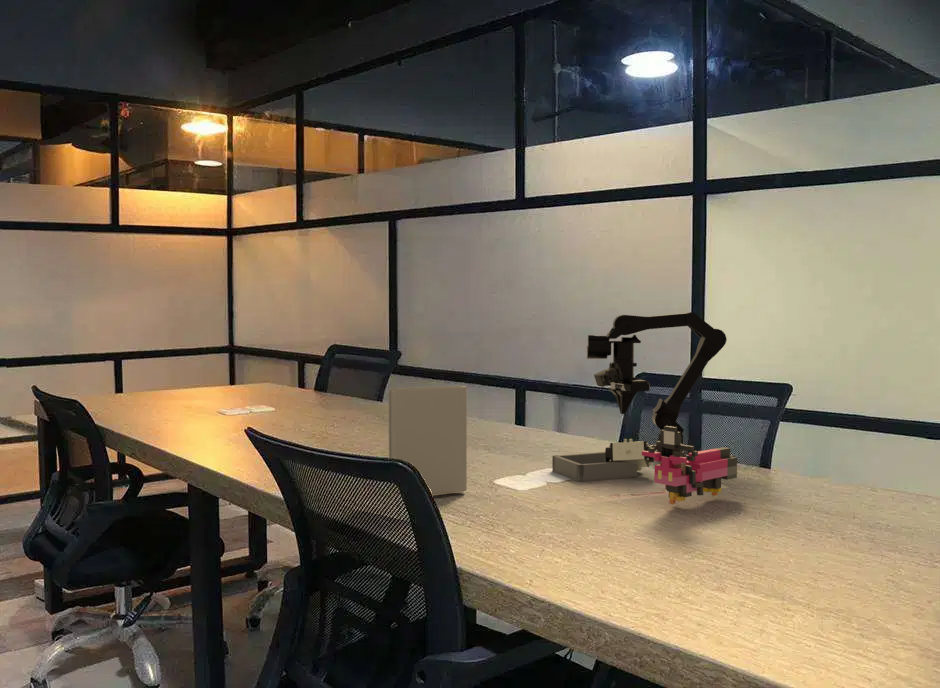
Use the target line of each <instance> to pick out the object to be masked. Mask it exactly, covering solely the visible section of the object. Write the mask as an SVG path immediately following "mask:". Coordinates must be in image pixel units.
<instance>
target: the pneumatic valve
mask: <svg viewBox="0 0 940 688" xmlns="http://www.w3.org/2000/svg"><path fill="white" fill-rule="evenodd" d="M653 445H654V444H649V443H648V441H647V440H643V441H641V440H640V441H634V440H633V438H629V439H627V438H624V439H623V442H620V441H619V442H610V443H609V446H607V447H605V449H604V452H605V458H606V462H630V463H634V464H637V472H638V471H641V470H642V468H650V466H651V463H652V464H653V463H656V461H655V458H654V457H648V456H642V451H649V448H653Z"/></svg>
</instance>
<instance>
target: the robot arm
mask: <svg viewBox="0 0 940 688" xmlns="http://www.w3.org/2000/svg"><path fill="white" fill-rule="evenodd" d="M678 327H679V328H680V327H688V328H689V329H690V330H691V331H692V332H693V333H694V334H695V335H696V336H698V337H699V338H700V339H699V341H698V344H697V348H696V351H695V354H694V356H693V358H692V359H691V360H690V362H689V364H688V366H687V367H686V369H685V370H684V372H683V373H682V374H681V377H680V378H679V380H678V382H676V385H675V386H674V388H673V390H672V391H671V393H670V395H669V396H668V397H666V398H665V400H663V399H662V398H659V399H658V400H657V404H656V406H655V407H654V408H652V411H653V413H652V417H651V419H652V422H653V423H654V425H655V426H656V427H657V428H659V430H664V426H671V427H677V432H681V444H682V445H684V431H685V430H684V428H683V427H682V426H681V424H679V423H678V422H677V420H678V418H679V415H680V411H681V408H682V405H683V403H684V401H685V400H686V398H687V397H688V395H689V393H690V392H691V390H692V389H693V387H694V386H695V384H696V382H697V381H698V378H699V377H700V376H701V374H702V372H703V371H704V370H705V368H706V366H707V365H708V363H709V362H710V361H711V360H712V359H713V358H714V357H715V356H716V355H717V354H719V352H720V351H721V349H723V348H724V347H725V345H726V343H727V335H726V333H725V332H724V330H722V329H719V328H714V327H713V326H711V325H710V324H709V323H707V322H706V321H705V320H704V319H702V318H701V317H699V316H698V314H697V313H695V312H692V311H688V312H683V313H673V314H663V315H662V314H659V315H651V316H644V315H643V316H639V315H631V314H630V315H629V314H621V315H617V316H616V317H615V318H614V320H613V321H612V328H611V329H610V330H609V332H607V334H606V335H595V334H588V335H587V345H586V358H587V359H590V360H592V359H593V360H607V359H608V357H610V356H612V359H613V361H612V362H610V363H609V364H608V365H609V366H608V368H606V369H602V370H601V371H598V372H596V373H594V374H593V377H594V379H595V383H596V385H597V386H598V387H601V388H602V387H606V386H607V387H610V388H608V391H609V392H611V393H612V394H613V395H614V397H615V400H616V403H617V405H618V406H617V407H618V408H619V413H620V415H626V414H627V411H628V410H629V407H630V405H631V404H632V401H633V400H634V398H635V396H636V394H637V393H638V392H650V391H651V384H650V382H649V381H648V380H643V379H637V377H636V376H634V368H635V367H637V365H638V364H637V362H634V361H635V360H634V359H635V358H634V357H635V355H634V354H635V350H634V348H635V347H634V346H635V344H641V343H642V340H640V339H639V338H638V337H637V335H636V333H640V332H643V331H647V330H656V329H664V328H665V329H668V328H678ZM628 335H632V336H631V337H629V336H628ZM625 336H626V337H625ZM619 337H621V338H620V340H616V339H617V338H619ZM612 344H613V347H612ZM612 348H613V350H612ZM612 354H613V355H612ZM657 436H658V437H657V438H658V439H657V440H656V441H660V433H658V434H657ZM656 451H657V452H661V456H665V457H670V456H671V455H673V449H668V448H664V447H661V446H659V450H656ZM682 452H684V450H682ZM685 456H687V454H685Z"/></svg>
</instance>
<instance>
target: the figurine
mask: <svg viewBox="0 0 940 688" xmlns="http://www.w3.org/2000/svg"><path fill="white" fill-rule="evenodd" d="M659 430H660V429H659ZM659 434H660V441H657V440H656V441H655V444H652V445H653V448H649V451H642V456H648V457H654V458H655V462H659V464H655V465H654V483H655V484H660V485H664V487H665V488H664V489H665V490H666V492H668V499H669V502H668V503H669V504H671V505H675V504H676V502H684V501H686V498H689V497H692V496H693V495H692V494H693V493H694V492H696V495H697V496H704V493H711V496H713V497H717V496H718V493H721V492H722V480H734V479H737V478H738V457H736V455H734V454H731V447H726V446H725V447H724V446H723V447H722V446H721V447H717V448H711V449H710V448H709V449H704V450H698V451H697V450H695V446H694V445H687V444H683V445H682V444H681V432H677V427H671V426H664V430H660V433H659ZM659 446H661V447H664V448H668V449H673V455H671V456H670V457H665V456H661V452H657V450H659ZM682 450H683V452H682ZM686 451H688V455H686ZM685 455H686V456H685Z"/></svg>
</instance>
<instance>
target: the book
mask: <svg viewBox="0 0 940 688" xmlns="http://www.w3.org/2000/svg"><path fill="white" fill-rule="evenodd" d="M467 388H468V387H467V386H466V385H445V386H444V385H442V386H441V385H440V386H423V387H398V388H396V387H395V388H388V459H389V458H398V459H402V460H406V461H408V462H410V463H412V464H413V465H414V466H415V467H416V468H417V469H418V470H419V471H420V473H421V474H422V476H423V478H424V479H425V481H426V483H427V485H428V486H429V488H430V489H431V491H432V494H433V496H434V495H442V494H443V495H444V494H452V493H453V494H454V493H461V492H466V491H468V489H467V488H468V487H467V483H468V482H467V478H468V477H467V469H468V468H467V467H468V466H467V465H468V464H467V459H468V458H467V457H468V455H467V454H468V453H467V451H468V450H467V449H468V447H467V446H468V445H467V444H468V443H467V441H468V439H467V436H468V435H467V431H468V429H467V428H468V427H467V424H468V422H467V420H468V419H467V418H468V417H467V416H468V414H467V412H468V411H467V409H468V407H467V400H468V399H467V397H468V396H467V393H468V391H467V390H468V389H467Z"/></svg>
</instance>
